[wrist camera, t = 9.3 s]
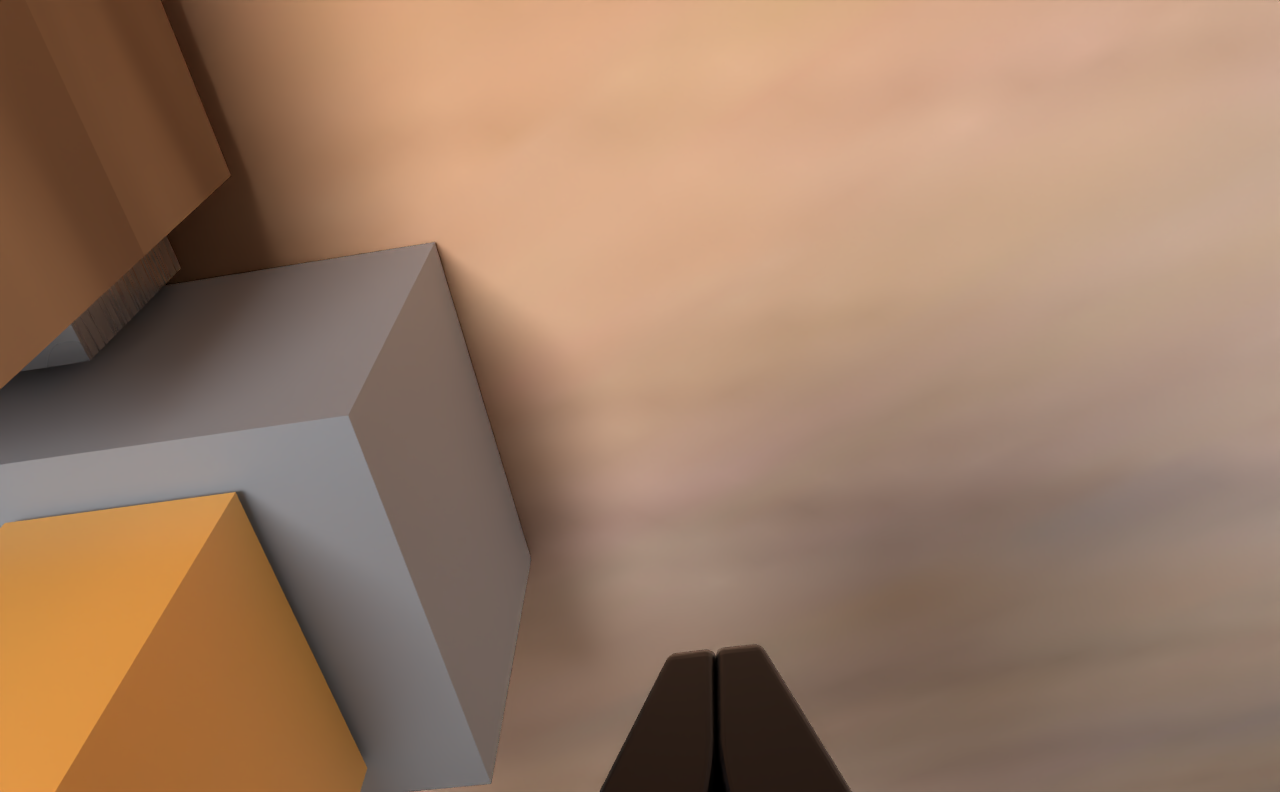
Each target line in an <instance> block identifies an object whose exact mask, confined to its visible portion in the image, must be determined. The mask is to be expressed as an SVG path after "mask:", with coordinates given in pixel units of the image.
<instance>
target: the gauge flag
mask: <svg viewBox="0 0 1280 792" xmlns="http://www.w3.org/2000/svg"><path fill="white" fill-rule="evenodd" d="M366 771H367V766H366V764H365V762H364V760H363V758H362V756H361V753H360V751H359V749H358V747H357V745H356V743H355V741H354V739H353V737H352V735H351V733H350V730H349V728H348V726H347V724H346V722H345V720H344V718H343V716H342V714H341V712H340V710H339V707H338V705H337V703H336V701H335V699H334V697H333V695H332V693H331V691H330V689H329V687H328V684H327V682H326V680H325V678H324V676H323V674H322V672H321V670H320V668H319V666H318V664H317V661H316V659H315V657H314V655H313V653H312V651H311V649H310V647H309V645H308V643H307V641H306V638H305V636H304V634H303V632H302V630H301V628H300V626H299V624H298V622H297V620H296V617H295V615H294V613H293V611H292V609H291V607H290V605H289V603H288V601H287V599H286V597H285V594H284V592H283V590H282V588H281V586H280V584H279V582H278V580H277V578H276V576H275V574H274V571H273V569H272V567H271V565H270V563H269V561H268V559H267V557H266V555H265V553H264V551H263V548H262V546H261V544H260V542H259V540H258V538H257V536H256V534H255V532H254V530H253V528H252V525H251V523H250V521H249V519H248V517H247V515H246V513H245V511H244V509H243V507H242V505H241V502H240V500H239V498H238V496H237V494H236V492H232V493H224V494H217V495H209V496H202V497H195V498H187V499H180V500H172V501H165V502H157V503H150V504H143V505H135V506H128V507H120V508H113V509H105V510H98V511H90V512H83V513H76V514H68V515H61V516H53V517H46V518H38V519H31V520H23V521H16V522H9V523H4V525H3V526H2V527H1V528H0V792H360V791H361V787H362V784H363V781H364V777H365V774H366Z"/></svg>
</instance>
